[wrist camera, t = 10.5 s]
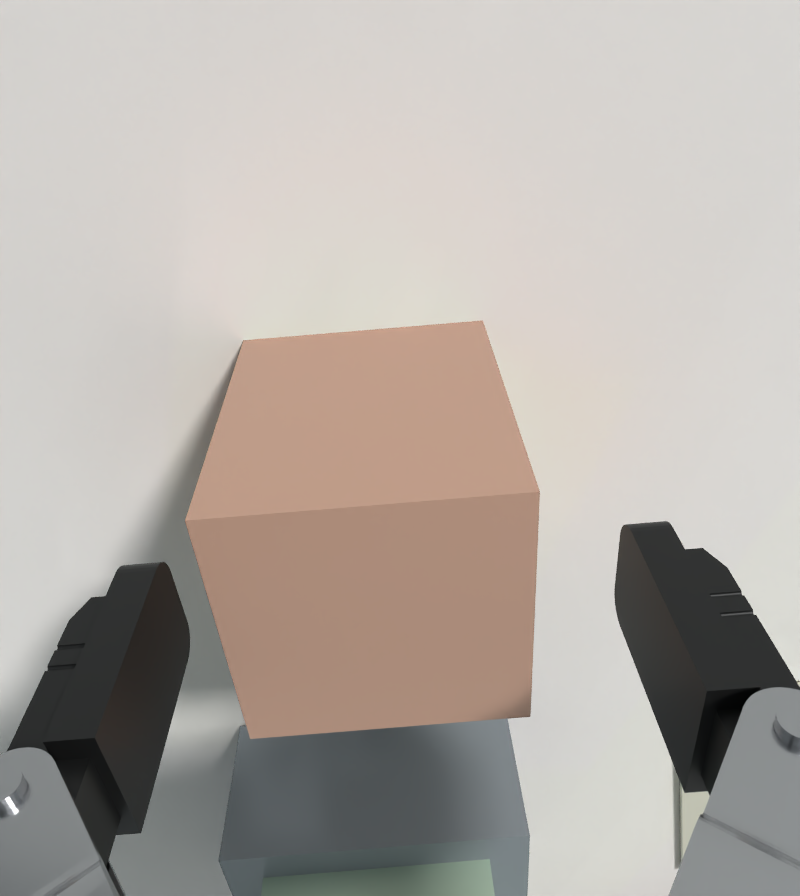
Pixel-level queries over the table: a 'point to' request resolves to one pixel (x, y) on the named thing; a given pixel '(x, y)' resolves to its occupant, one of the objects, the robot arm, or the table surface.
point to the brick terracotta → (370, 532)
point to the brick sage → (390, 881)
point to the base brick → (376, 803)
